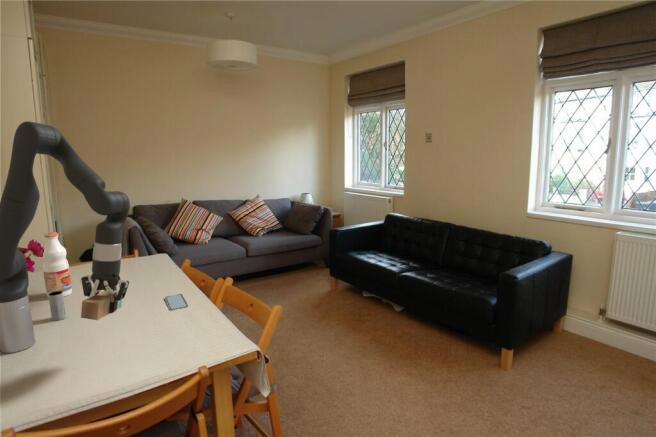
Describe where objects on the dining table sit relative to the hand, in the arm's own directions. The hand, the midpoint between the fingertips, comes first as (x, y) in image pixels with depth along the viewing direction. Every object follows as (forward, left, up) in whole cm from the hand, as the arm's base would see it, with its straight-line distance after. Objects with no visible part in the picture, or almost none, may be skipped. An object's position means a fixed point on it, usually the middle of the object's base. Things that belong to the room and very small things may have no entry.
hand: (103, 311), depth 122 cm
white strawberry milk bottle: (-49, +54, -16) cm, 75 cm away
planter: (-34, +30, -16) cm, 48 cm away
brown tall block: (0, -6, +3) cm, 7 cm away
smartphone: (+5, +44, -17) cm, 47 cm away
